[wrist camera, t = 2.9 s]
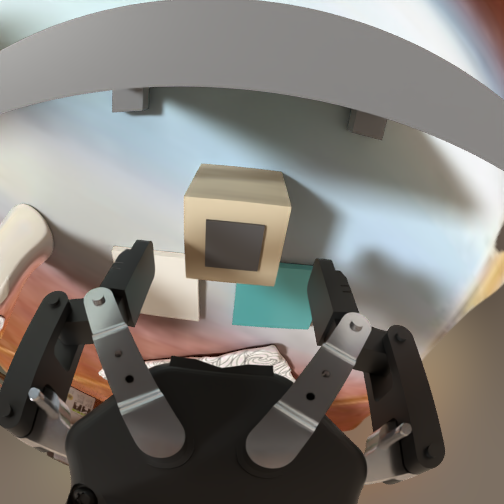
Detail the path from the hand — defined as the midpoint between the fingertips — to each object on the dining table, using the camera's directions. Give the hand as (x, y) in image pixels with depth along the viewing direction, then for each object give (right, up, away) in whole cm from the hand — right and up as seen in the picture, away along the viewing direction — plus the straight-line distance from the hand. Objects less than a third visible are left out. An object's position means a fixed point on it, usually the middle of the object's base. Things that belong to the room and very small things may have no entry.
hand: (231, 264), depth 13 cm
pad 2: (+3, -3, +9) cm, 10 cm away
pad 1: (-7, -2, +9) cm, 11 cm away
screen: (+1, +11, 0) cm, 11 cm away
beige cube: (0, +4, +5) cm, 6 cm away
